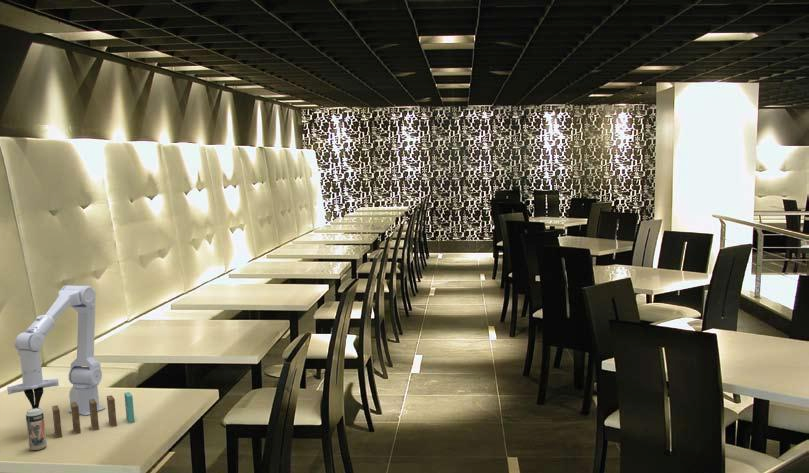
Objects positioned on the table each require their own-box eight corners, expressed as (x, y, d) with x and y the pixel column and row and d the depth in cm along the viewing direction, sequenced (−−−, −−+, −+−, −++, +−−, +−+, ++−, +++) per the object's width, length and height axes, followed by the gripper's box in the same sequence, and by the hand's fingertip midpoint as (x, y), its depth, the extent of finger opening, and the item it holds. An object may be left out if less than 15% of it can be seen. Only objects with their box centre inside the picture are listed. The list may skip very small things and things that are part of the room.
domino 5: (129, 423, 257) (127, 396, 256) (126, 419, 261) (124, 392, 260) (134, 422, 258) (132, 395, 257) (131, 418, 262) (129, 391, 261)
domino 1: (56, 438, 246) (53, 410, 245) (54, 433, 250) (51, 406, 249) (62, 437, 247) (59, 409, 246) (60, 432, 251) (57, 405, 250)
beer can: (29, 452, 235) (25, 414, 233) (29, 447, 239) (25, 409, 237) (47, 449, 237) (43, 410, 235) (46, 444, 241) (42, 406, 240)
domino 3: (93, 430, 251) (91, 403, 250) (91, 426, 256) (88, 399, 255) (99, 429, 252) (96, 402, 251) (96, 425, 256) (94, 398, 255)
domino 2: (75, 434, 249) (72, 406, 248) (73, 429, 253) (70, 402, 252) (80, 433, 249) (78, 405, 248) (78, 428, 254) (76, 401, 253)
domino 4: (111, 426, 254) (109, 400, 253) (108, 422, 258) (106, 396, 257) (116, 425, 255) (114, 399, 254) (114, 421, 259) (111, 395, 258)
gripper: (6, 377, 240) (11, 419, 241) (58, 368, 247) (62, 410, 248) (5, 371, 246) (9, 413, 247) (55, 363, 253) (59, 404, 254)
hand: (35, 411), depth 248 cm, fingers closed
